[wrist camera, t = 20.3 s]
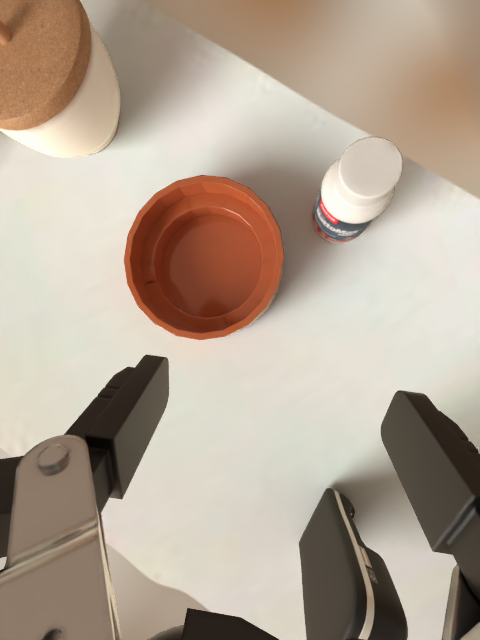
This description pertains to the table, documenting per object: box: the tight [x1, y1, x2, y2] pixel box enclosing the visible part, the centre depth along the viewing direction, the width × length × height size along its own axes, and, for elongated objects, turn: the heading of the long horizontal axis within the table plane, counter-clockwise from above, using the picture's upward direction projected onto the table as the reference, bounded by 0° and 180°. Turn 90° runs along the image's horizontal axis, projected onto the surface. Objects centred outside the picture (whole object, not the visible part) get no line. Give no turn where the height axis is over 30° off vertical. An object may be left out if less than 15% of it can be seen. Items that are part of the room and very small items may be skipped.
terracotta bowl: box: [124, 175, 284, 340], centre depth 26 cm, size 14×14×4 cm
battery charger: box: [299, 488, 408, 640], centre depth 21 cm, size 7×4×11 cm, turn 155°
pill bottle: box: [312, 137, 403, 243], centre depth 22 cm, size 5×5×9 cm
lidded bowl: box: [0, 0, 120, 158], centre depth 25 cm, size 13×13×11 cm
